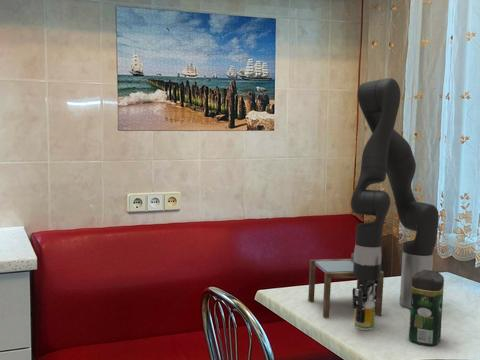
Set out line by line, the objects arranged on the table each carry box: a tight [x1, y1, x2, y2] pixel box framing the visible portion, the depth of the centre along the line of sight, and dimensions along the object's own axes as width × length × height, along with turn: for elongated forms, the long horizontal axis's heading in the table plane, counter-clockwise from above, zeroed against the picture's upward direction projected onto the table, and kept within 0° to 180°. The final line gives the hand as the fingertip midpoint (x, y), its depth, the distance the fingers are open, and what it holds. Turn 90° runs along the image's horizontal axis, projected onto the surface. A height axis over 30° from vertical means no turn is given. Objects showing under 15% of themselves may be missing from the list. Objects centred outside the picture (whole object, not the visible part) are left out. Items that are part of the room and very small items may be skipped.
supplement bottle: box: [353, 294, 375, 331], centre depth 152 cm, size 5×5×10 cm
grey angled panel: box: [315, 252, 354, 274], centre depth 167 cm, size 17×12×6 cm
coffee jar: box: [408, 270, 445, 346], centre depth 144 cm, size 10×8×19 cm
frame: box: [307, 258, 385, 319], centre depth 167 cm, size 18×16×14 cm
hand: (364, 318), depth 152 cm, fingers closed on supplement bottle, 5 cm apart
